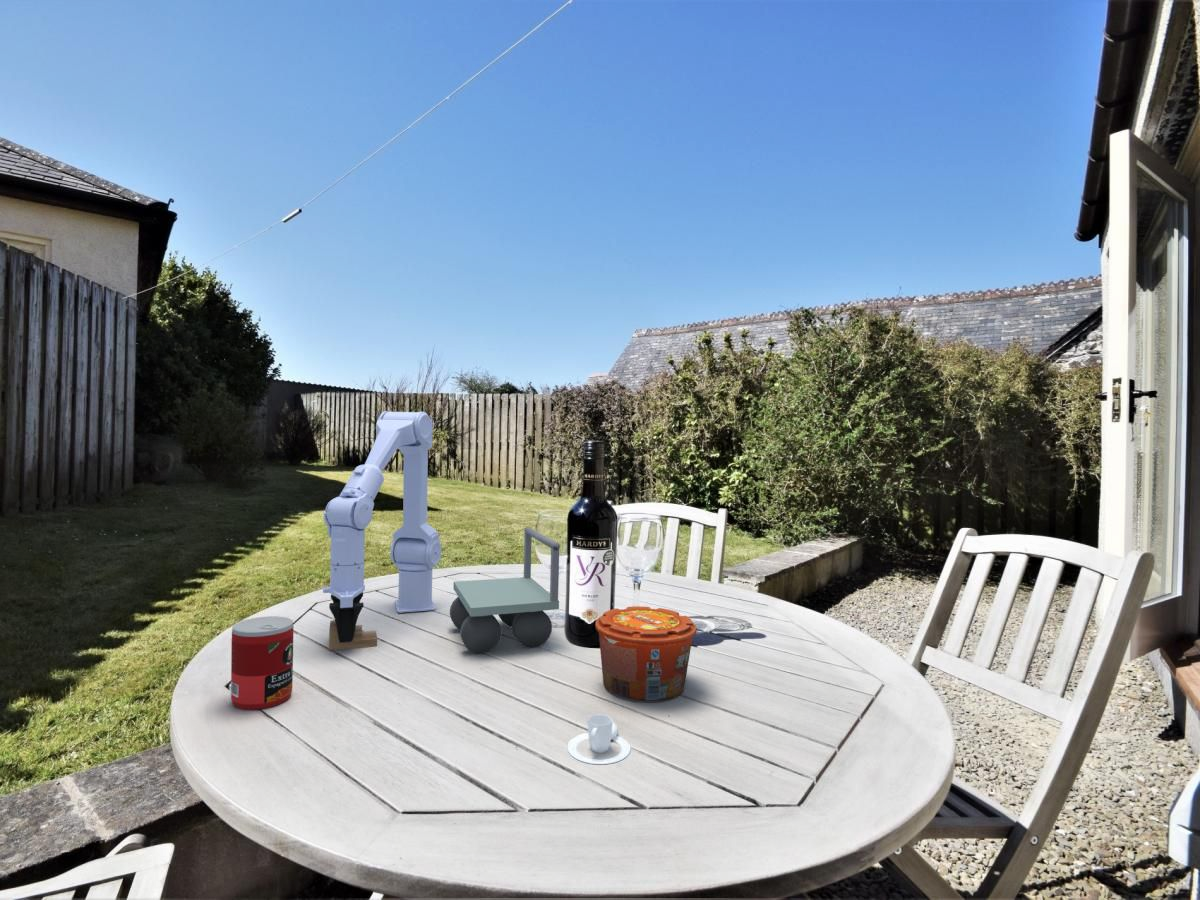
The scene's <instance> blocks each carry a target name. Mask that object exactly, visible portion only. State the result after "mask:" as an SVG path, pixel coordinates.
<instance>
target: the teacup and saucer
mask: <svg viewBox="0 0 1200 900" xmlns="http://www.w3.org/2000/svg"><path fill="white" fill-rule="evenodd" d="M618 733H619V727H618V725H617V723H616V722H615V721H614V720H613V717H611V716H610V715H608V714H605V713H604V714H603V713H596V714H595V713H594V714H592V715H590V716H589V717H588V718H587V732H585V733H580V734H578V735H575V736H574V737H572V738H571V739H570V740H569V741H568V742H567V747H566V748H567V752H568V754H569V755H570V756H571V757H572V758H574V759H575V760H577V761H580V762H582V763H586V764H590V765H610V764H614V763H618V762H620V761H622V760H624V759H626V758H627V757H628V756H629V755H630V754H631V745H630V743H629V742H628V741H627V739H625V738H624V737H621V736H619V735H618ZM587 739H588V743H589V747H590V749H591V751H592V752H595V753H606V752H607V751H608V750H609V748H610V745H611V741H614V742H616V743H617V744H618V745H619V746H620V752H619V753H618V754H617V755H616V756H613V757H610V758H607V759H606V758H604V759H594V758H589V757H587V756H583V755H582V754H581V753H580V752H579V751H578V749H577V747H578V745H579V743H580V742H582V741H585V740H587Z"/></svg>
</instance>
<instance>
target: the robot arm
mask: <svg viewBox="0 0 1200 900" xmlns="http://www.w3.org/2000/svg"><path fill="white" fill-rule="evenodd" d="M375 429H376V435H377V436H376V438H375V441H374V443H373V445H372V447H371V450H370V452H369V454H368V455H367V459H366V461H365V462H364V464H360V465H358V466H356V467H355V468H354V470H353V471H352V474H351V475H350V477H349V479H348V480H347V482H346V484H345V485H344V487H343V489H342V491H341V492H340V493H339V495H338V496H336V497H335V498H332V499H331V500H330V501H329V502H328V503H327V505H326V506H325V511H324V513H323V520H324V524H325V525H326V528H327V536H328V538H329V539H330V570H329V571H330V573H329V575H330V578H329V580H330V581H329V582H330V583H329V586H323V588H322V593H324V594H330V599H331V601H332V602H330V603H329V604H328V605H329V610H330V612H331V614H332V616H333V618H334V619H333V620H335V622H336V626H337V632H338V638H339V641H340V643H342V642H352V640H353V637H354V633H355V627H356V625H357V621H358V620H359V615H360V613H361V611H362V610H363V608H364V602H362V601H361V600H362V599H363V597H364V591H365V590H366V585H365V584H364V583H365V538H366V535H365V534H366V528H367V527H368V526H369V525H370V523H371V522H372V519H373V509H374V507H375V502H374V500H375V499H376V497H377V495H378V492H379V490H380V489H381V487H382V485H383V484H384V481H385V477H384V474H383V471H384V469H385V468H386V466H387V465H388V464H389V462H390V461H391V459H392V458H393V456H394V454H395V453H396V452H397V450H399V451H400V452H401V454H402V455H403V481H402V483H403V487H402V488H403V491H402V492H403V494H402V496H403V497H402V498H403V504H402V505H403V510H402V513H403V515H402V517H403V518H402V525H401V526H400V527H399V528H398V529H396V530H395V531H394V532H393V534H392V542H391V546H390V553H389V555H390V559H391V561H392V563H393V564H394V565H395V568H396V569H398V593H397V594H398V598H397V599H395V600H394V604H395V608H396V612H397V613H398V614H400V613H402V614H404V613H413V612H424V611H425V612H427V611H435V610H436V607H435V604H434V601H433V569H434V568H435V567H437V565H439V562H440V561H441V557H442V545H441V542H440V540H441V539H440V532H438V531H437V530H436V529H435V528H434V527H432V526H431V525H430V524H428V472H429V471H428V470H429V469H428V465H429V464H428V463H429V462H428V461H429V459H428V451H429V450H430V449H432V448H433V421H432V419H431V418H430V416H429V415H428V412H426V411H419V412H417V411H406V412H405V411H390V410H385V411H382V412H381V413H380V415H379V417H378V419H377V422H376V424H375Z"/></svg>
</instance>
